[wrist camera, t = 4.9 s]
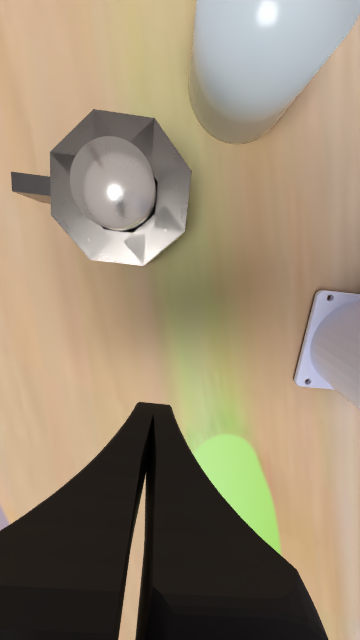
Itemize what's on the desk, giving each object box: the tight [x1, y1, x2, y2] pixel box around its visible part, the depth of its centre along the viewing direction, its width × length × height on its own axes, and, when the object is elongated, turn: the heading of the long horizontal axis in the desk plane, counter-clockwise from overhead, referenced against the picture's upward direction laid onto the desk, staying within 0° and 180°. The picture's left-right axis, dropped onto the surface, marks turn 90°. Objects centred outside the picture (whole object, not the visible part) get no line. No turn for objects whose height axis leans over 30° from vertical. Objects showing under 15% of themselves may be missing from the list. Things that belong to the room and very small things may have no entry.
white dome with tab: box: [189, 0, 360, 144], centre depth 13 cm, size 6×8×7 cm
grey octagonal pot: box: [11, 109, 192, 266], centre depth 15 cm, size 9×7×5 cm
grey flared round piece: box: [70, 136, 156, 231], centre depth 14 cm, size 4×4×6 cm
